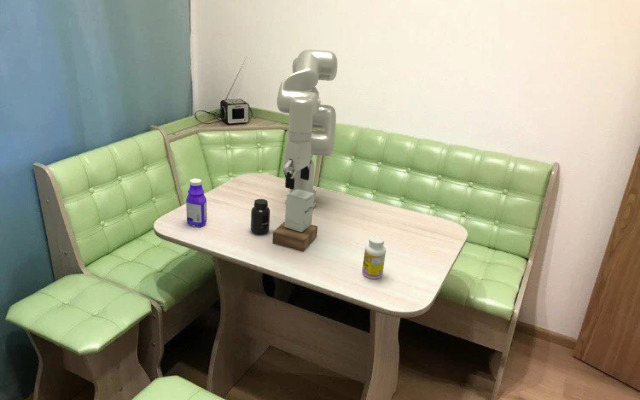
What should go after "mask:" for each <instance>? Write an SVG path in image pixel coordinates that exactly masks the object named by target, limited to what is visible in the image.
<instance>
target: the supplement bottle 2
mask: <svg viewBox="0 0 640 400" xmlns="http://www.w3.org/2000/svg"><path fill="white" fill-rule="evenodd" d="M384 244H385V239H384V238H383V237H381V236H378V235H371V236H370V237H369V239H368V243H367V244H366V245H365V246H364V253H363V255H364V256H363V263H362V270H361V272H362V273H361V274H363V276H364V277H366V278H368V279H372V280H375V279H377V280H378V279H379V278H381V277H382V276H383V274H384V273H383V272H384V266H385V261H386V260H385V259H386V252H387V248H386V247H385V245H384Z"/></svg>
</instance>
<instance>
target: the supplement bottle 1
mask: <svg viewBox="0 0 640 400" xmlns="http://www.w3.org/2000/svg"><path fill="white" fill-rule="evenodd" d="M268 203H269V201H268V199H265V198H257V199H254V201H253V207H252V208H251V210H250V233H252V234H254V235H257V236H263V235H266V234H268V233H269V232H270V224H271V209H270V208H269V204H268Z"/></svg>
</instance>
